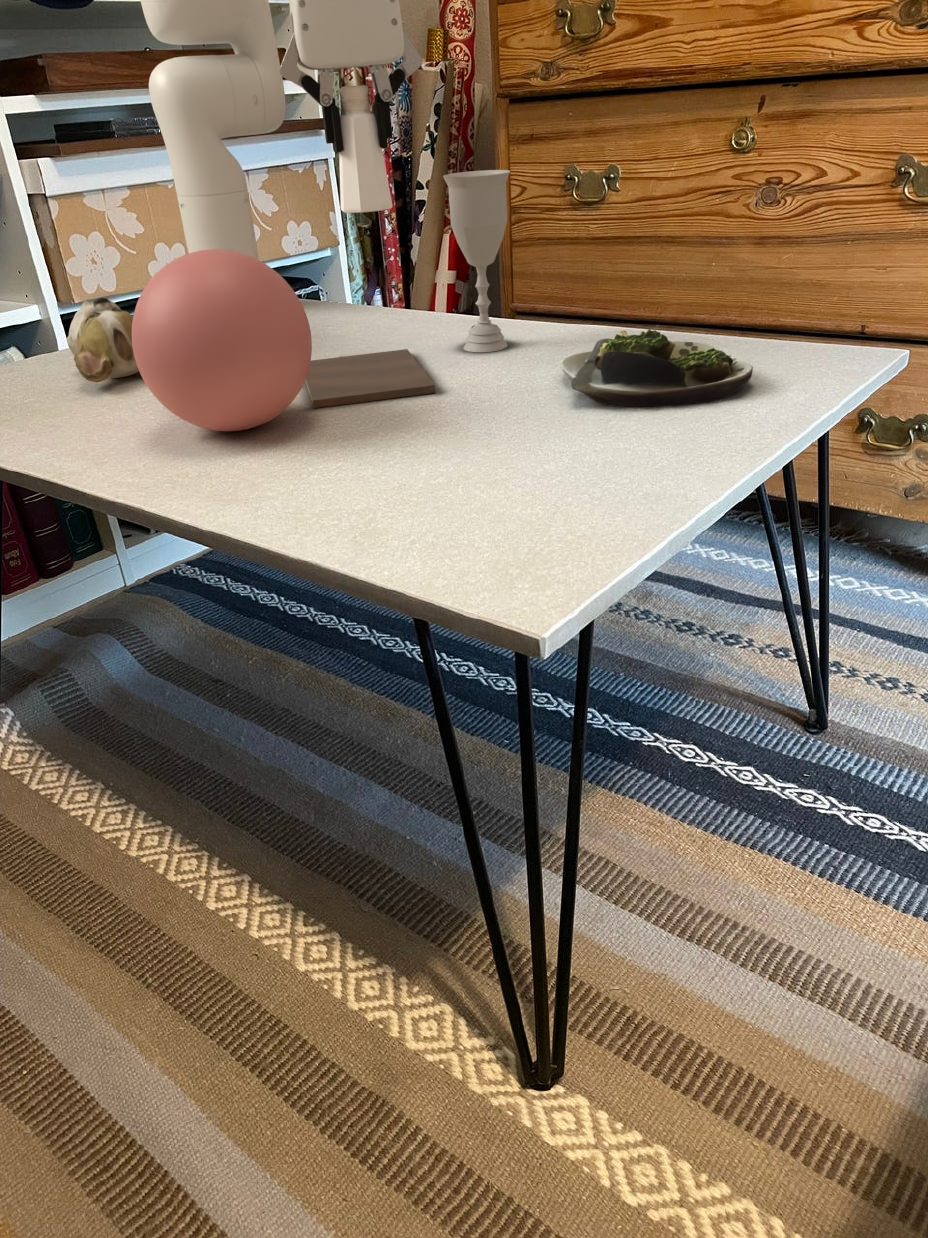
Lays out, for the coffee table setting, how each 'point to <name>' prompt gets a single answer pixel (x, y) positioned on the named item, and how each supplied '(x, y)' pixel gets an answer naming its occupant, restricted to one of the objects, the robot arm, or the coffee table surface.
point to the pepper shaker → (361, 156)
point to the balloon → (221, 340)
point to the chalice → (480, 239)
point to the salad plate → (654, 371)
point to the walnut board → (366, 378)
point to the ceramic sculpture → (102, 341)
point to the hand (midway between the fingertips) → (360, 147)
